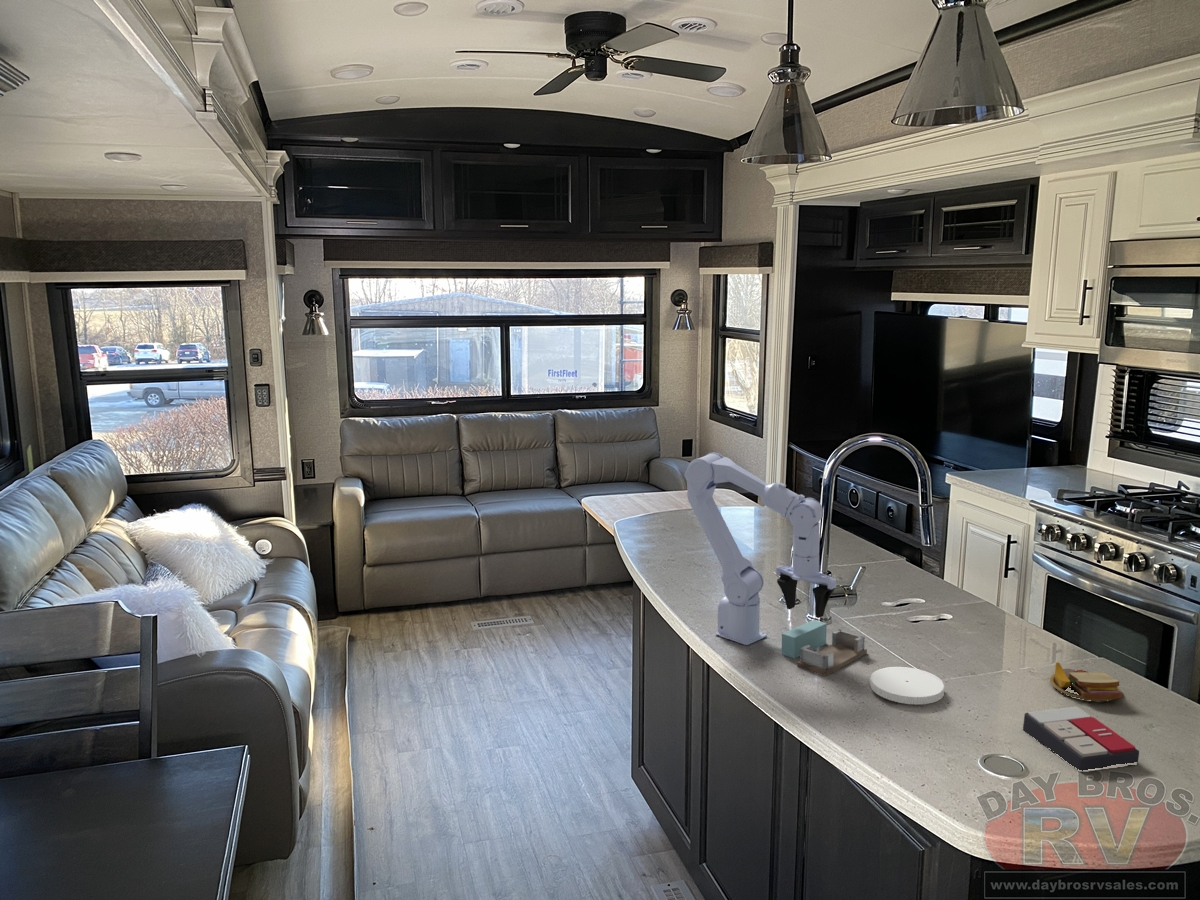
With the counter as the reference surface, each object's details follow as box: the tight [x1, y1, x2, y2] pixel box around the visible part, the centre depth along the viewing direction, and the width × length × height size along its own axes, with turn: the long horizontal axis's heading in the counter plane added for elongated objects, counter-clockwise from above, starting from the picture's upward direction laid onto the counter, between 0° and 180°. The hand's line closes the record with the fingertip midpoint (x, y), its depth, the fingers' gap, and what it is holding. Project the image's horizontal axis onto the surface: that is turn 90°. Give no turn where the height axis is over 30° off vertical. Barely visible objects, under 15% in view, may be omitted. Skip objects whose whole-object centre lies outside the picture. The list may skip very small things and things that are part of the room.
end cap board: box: [796, 644, 868, 677], centre depth 193 cm, size 7×16×1 cm, turn 133°
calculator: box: [1022, 706, 1140, 771], centre depth 155 cm, size 11×4×15 cm
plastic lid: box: [869, 666, 945, 705], centre depth 177 cm, size 14×14×2 cm
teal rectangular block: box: [781, 619, 828, 659], centre depth 199 cm, size 3×12×5 cm, turn 131°
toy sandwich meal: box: [1049, 661, 1124, 702], centre depth 176 cm, size 12×14×5 cm
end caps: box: [799, 628, 866, 670], centre depth 193 cm, size 6×15×3 cm, turn 133°
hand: (805, 612), depth 198 cm, fingers open, 7 cm apart
